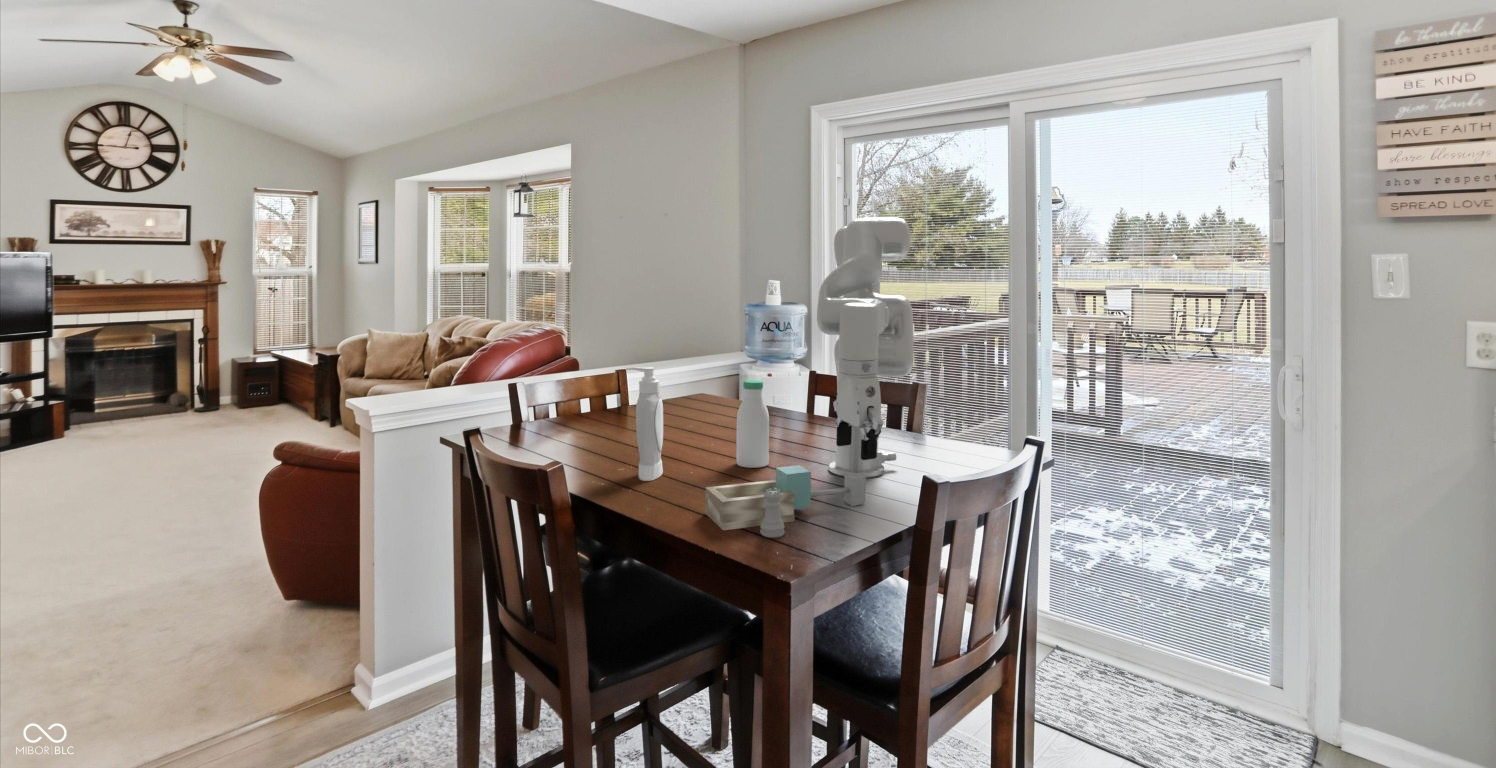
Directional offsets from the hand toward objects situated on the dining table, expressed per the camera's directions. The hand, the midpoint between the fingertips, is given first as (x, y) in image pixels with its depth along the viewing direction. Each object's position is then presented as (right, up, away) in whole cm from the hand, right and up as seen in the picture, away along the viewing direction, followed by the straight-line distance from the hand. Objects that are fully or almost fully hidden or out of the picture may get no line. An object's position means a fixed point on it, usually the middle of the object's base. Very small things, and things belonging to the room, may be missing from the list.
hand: (855, 451), depth 150 cm
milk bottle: (-20, -6, +30) cm, 36 cm away
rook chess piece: (-17, -13, -17) cm, 27 cm away
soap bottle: (-44, -7, +20) cm, 49 cm away
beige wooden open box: (-21, -12, -8) cm, 25 cm away
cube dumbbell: (-7, -11, -2) cm, 13 cm away
